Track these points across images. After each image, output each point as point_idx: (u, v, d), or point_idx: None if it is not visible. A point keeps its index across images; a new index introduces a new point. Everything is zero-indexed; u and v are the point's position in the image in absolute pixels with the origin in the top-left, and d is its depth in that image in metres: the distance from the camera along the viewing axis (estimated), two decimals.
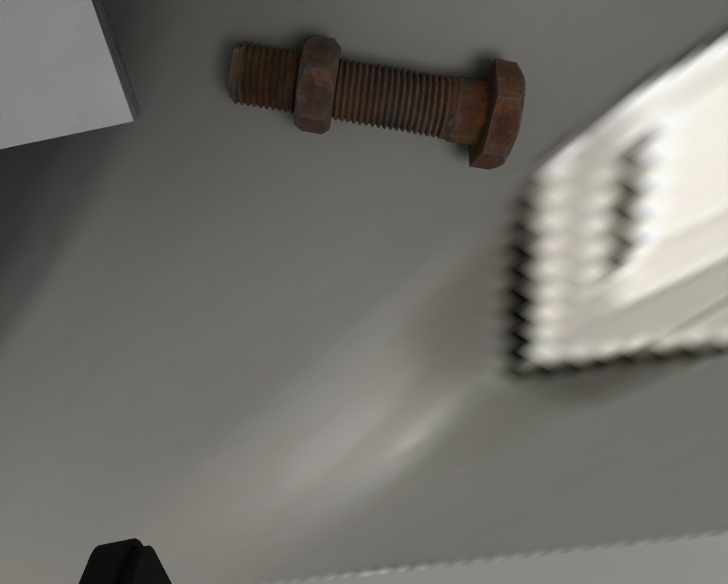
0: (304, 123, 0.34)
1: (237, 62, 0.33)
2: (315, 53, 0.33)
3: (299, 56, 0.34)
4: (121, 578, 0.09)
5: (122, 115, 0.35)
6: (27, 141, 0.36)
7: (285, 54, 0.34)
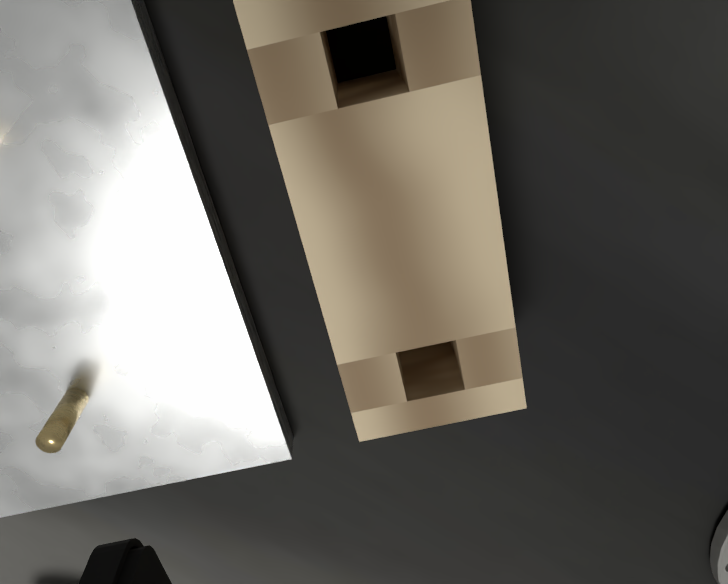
0: None
1: None
2: None
3: None
4: (121, 578, 0.09)
5: None
6: None
7: None
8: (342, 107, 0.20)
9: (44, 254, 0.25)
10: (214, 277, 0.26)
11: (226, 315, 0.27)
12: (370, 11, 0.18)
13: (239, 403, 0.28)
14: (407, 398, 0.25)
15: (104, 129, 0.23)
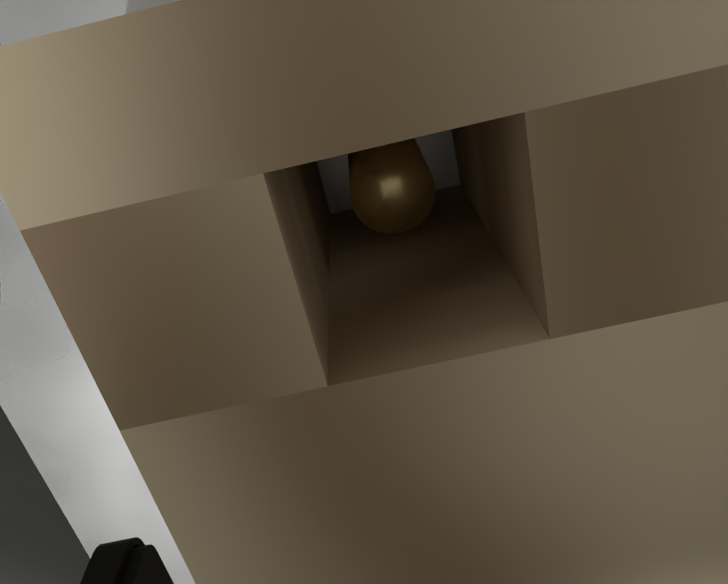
0: None
1: None
2: None
3: None
4: (123, 577, 0.09)
5: None
6: None
7: None
8: (341, 379, 0.06)
9: None
10: None
11: None
12: (441, 104, 0.05)
13: None
14: None
15: None
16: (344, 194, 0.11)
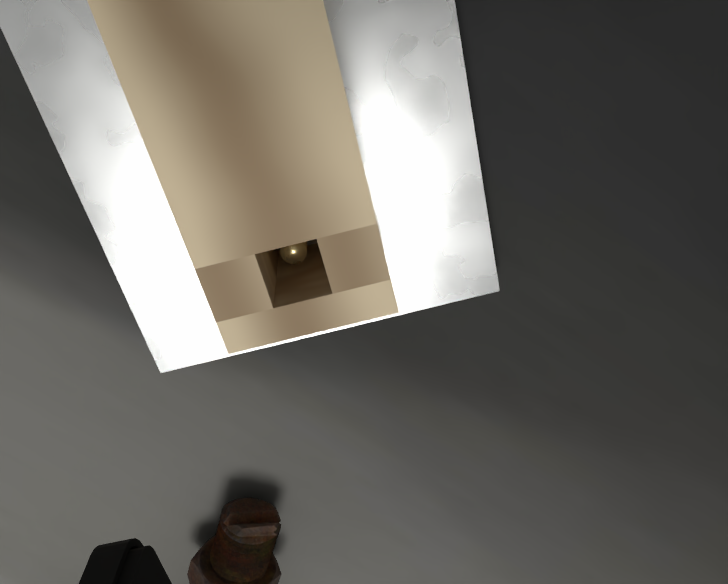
0: (199, 582, 0.34)
1: (262, 533, 0.34)
2: None
3: (263, 568, 0.35)
4: (121, 578, 0.09)
5: (165, 362, 0.30)
6: (109, 258, 0.27)
7: None
8: None
9: None
10: (453, 81, 0.25)
11: (459, 125, 0.26)
12: None
13: (457, 228, 0.28)
14: (274, 305, 0.24)
15: None
16: None
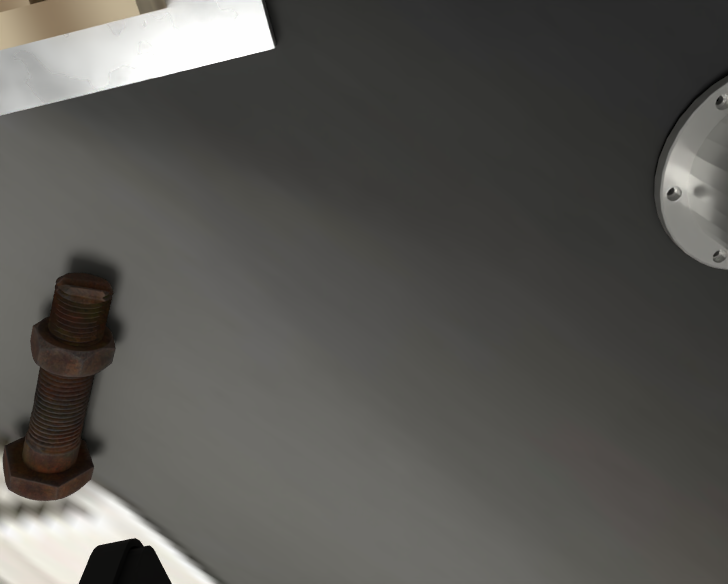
0: (36, 340, 0.39)
1: (91, 296, 0.38)
2: (96, 358, 0.40)
3: (96, 338, 0.40)
4: (121, 578, 0.09)
5: None
6: None
7: (98, 329, 0.40)
8: None
9: None
10: None
11: None
12: None
13: None
14: (33, 4, 0.28)
15: None
16: None
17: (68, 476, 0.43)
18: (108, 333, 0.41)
